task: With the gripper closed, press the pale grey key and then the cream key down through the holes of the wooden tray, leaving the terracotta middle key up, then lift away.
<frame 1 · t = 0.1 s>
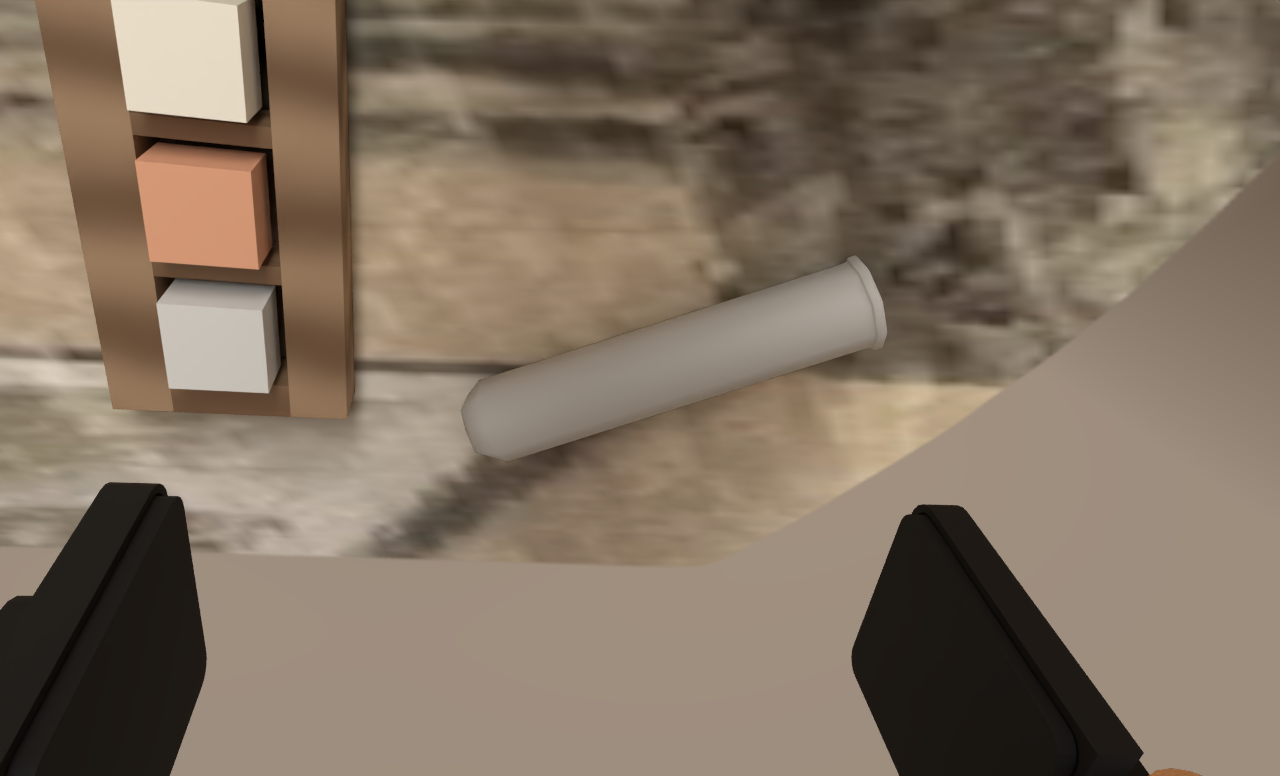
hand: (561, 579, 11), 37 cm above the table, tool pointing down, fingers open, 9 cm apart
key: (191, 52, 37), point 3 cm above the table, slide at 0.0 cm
key mid: (208, 206, 41), point 3 cm above the table, slide at 0.0 cm
tube: (659, 345, 53), on the table
wooden tray: (227, 184, 43), on the table
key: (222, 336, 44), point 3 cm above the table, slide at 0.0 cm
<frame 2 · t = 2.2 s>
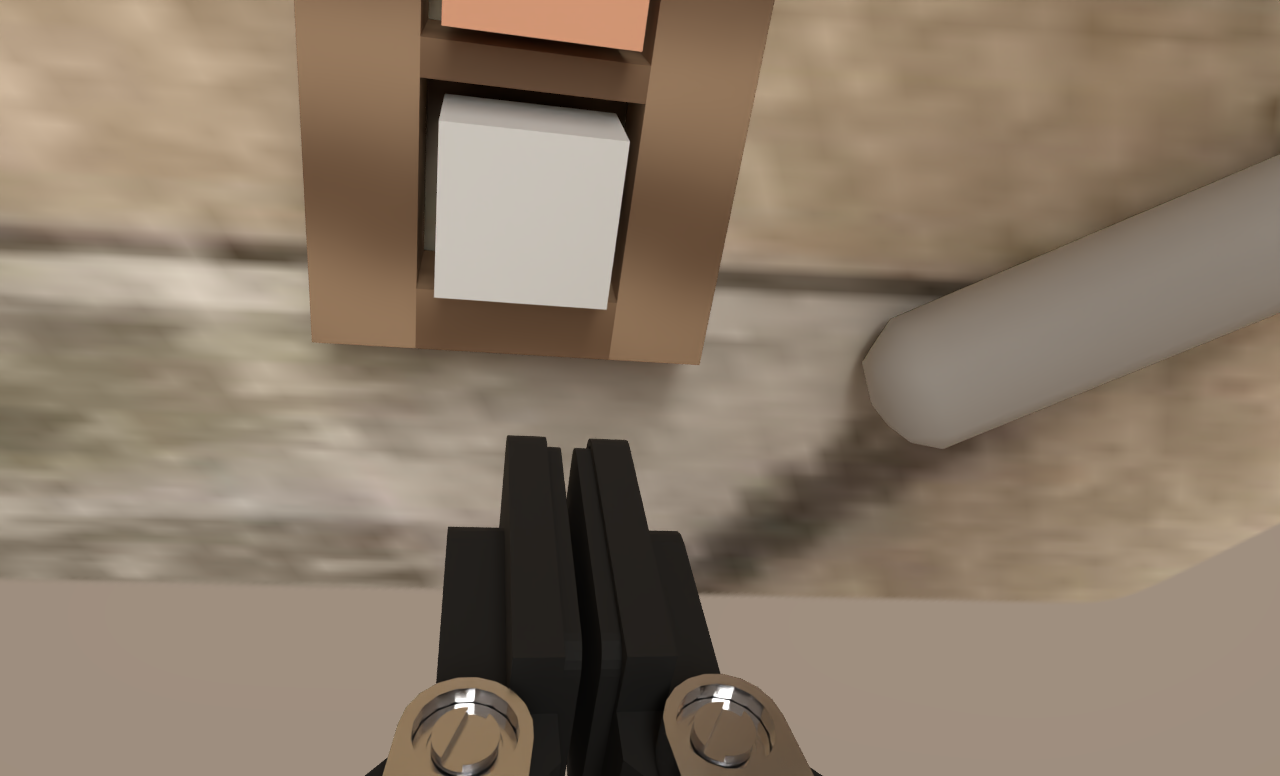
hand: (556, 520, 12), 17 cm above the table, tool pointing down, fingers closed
tube: (1159, 237, 32), on the table
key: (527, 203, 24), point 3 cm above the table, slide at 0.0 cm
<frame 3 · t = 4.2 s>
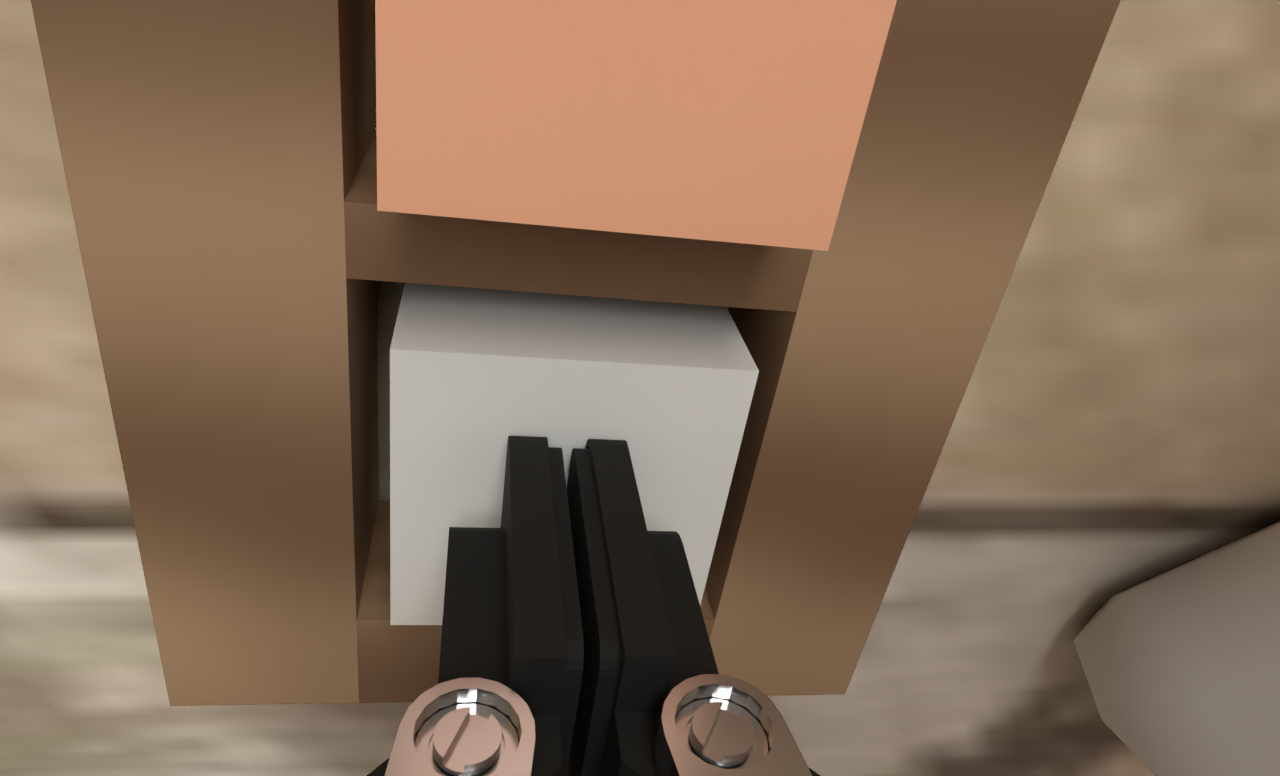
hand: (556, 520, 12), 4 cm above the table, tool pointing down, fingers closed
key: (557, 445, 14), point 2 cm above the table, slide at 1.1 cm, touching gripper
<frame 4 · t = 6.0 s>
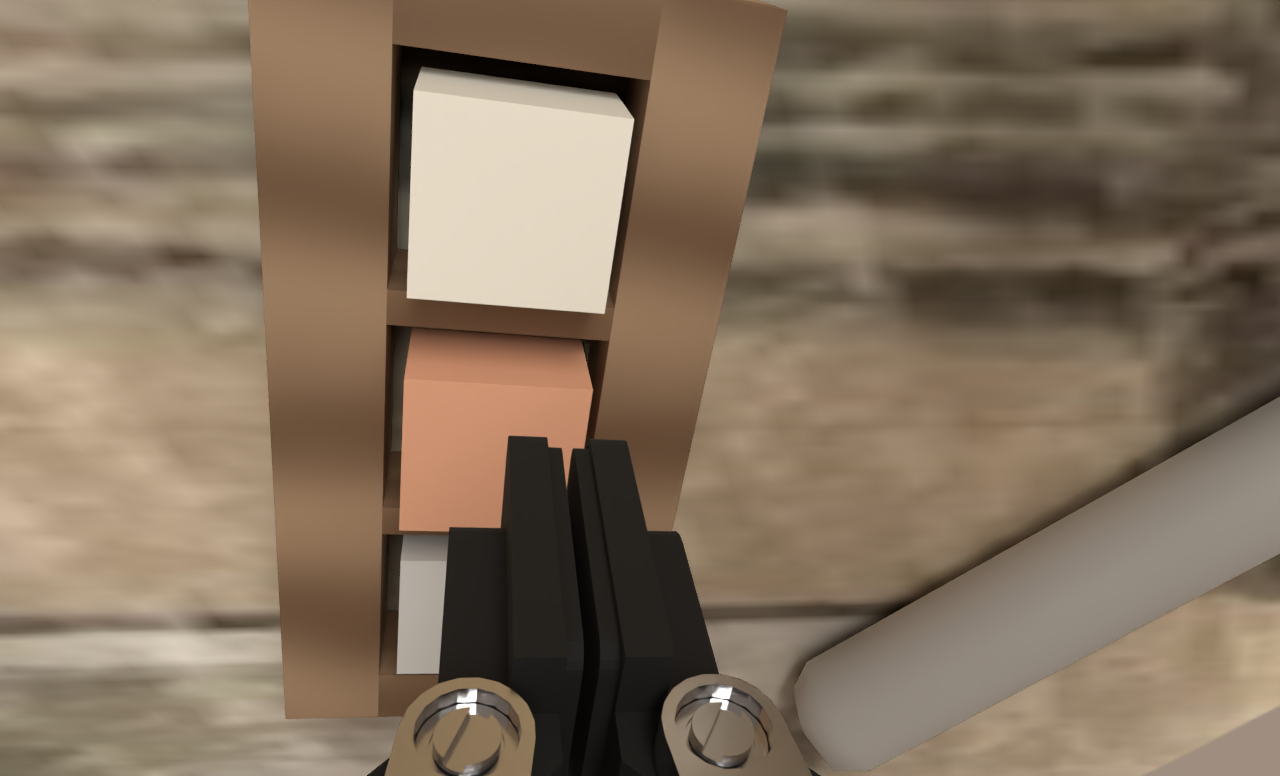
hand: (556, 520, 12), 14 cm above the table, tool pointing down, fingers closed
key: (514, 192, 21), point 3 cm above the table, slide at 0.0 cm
key mid: (492, 432, 24), point 3 cm above the table, slide at 0.0 cm
tube: (1041, 540, 36), on the table
wooden tray: (491, 376, 27), on the table
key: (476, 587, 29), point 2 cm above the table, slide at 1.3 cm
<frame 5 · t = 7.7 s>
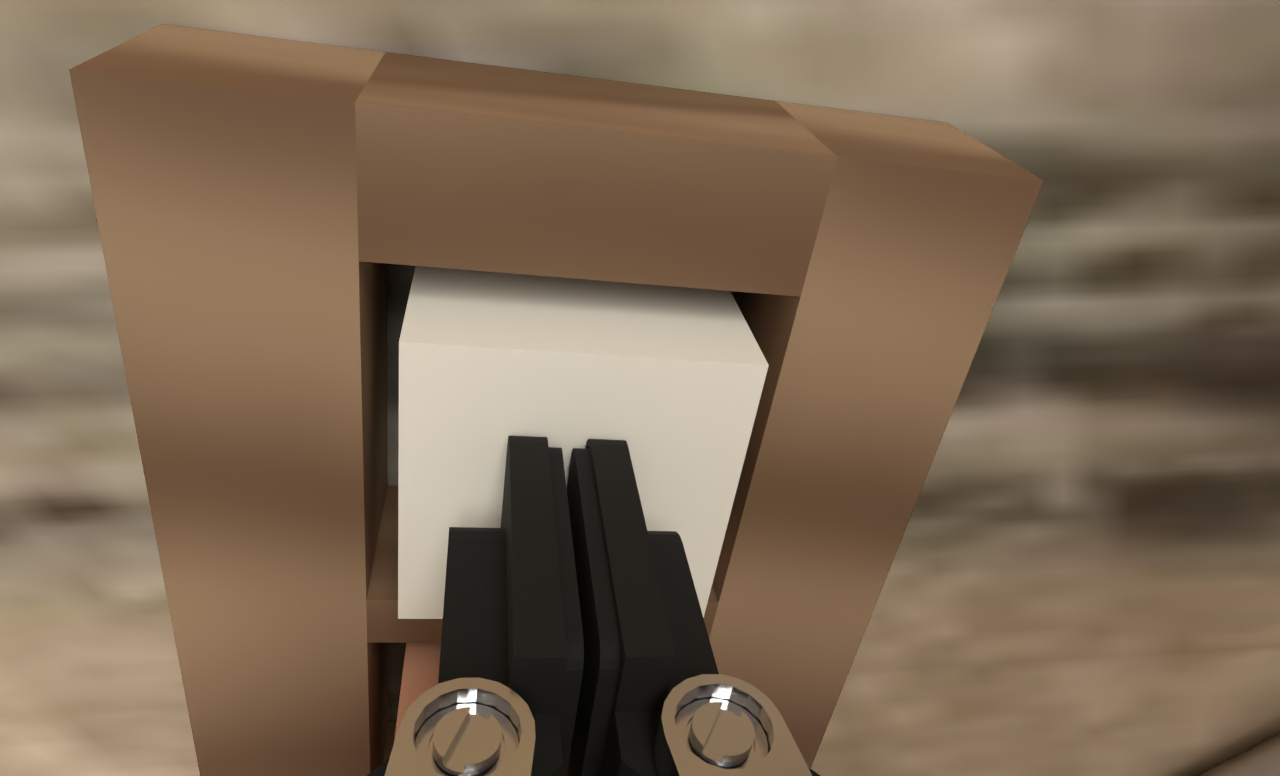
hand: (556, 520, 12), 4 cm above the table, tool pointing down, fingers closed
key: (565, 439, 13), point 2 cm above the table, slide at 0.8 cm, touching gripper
key mid: (530, 763, 16), point 3 cm above the table, slide at 0.0 cm
tube: (1240, 753, 27), on the table
wooden tray: (526, 631, 19), on the table
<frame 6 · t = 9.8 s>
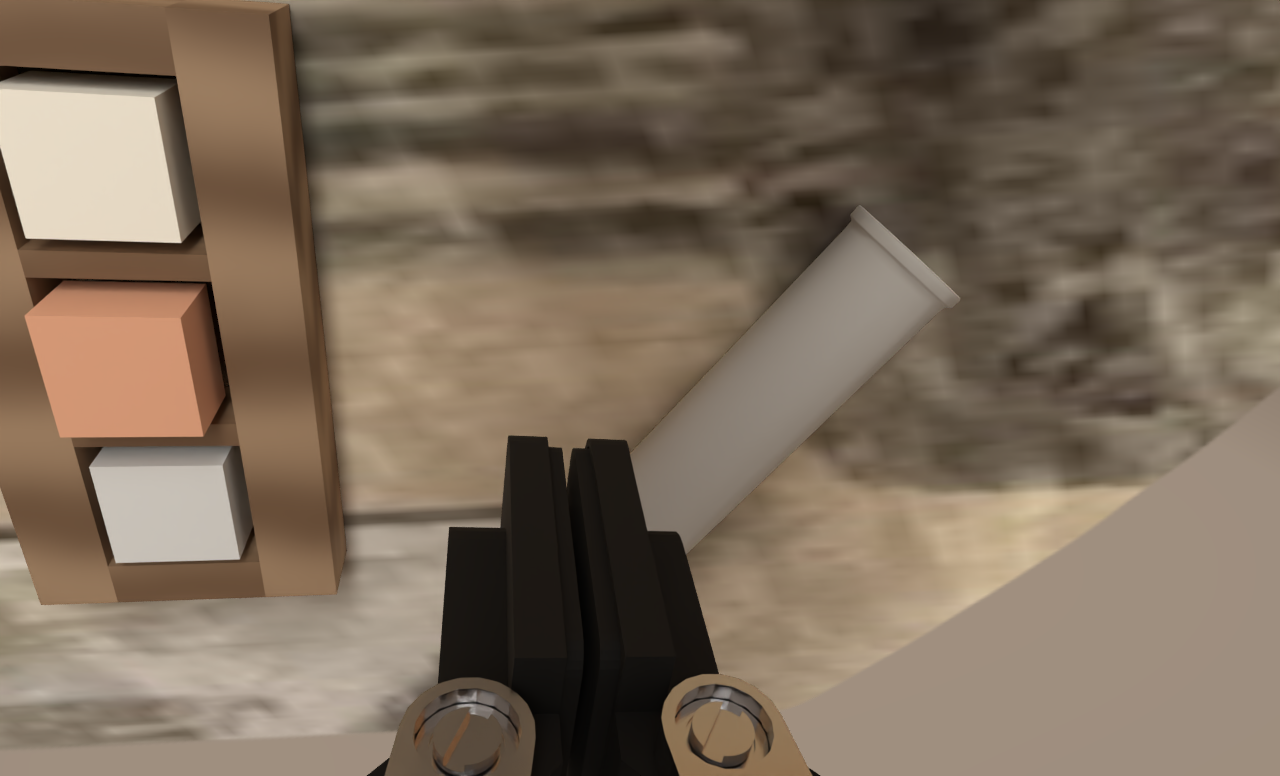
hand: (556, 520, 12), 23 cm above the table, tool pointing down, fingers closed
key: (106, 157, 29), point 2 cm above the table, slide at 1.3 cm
key mid: (134, 359, 31), point 3 cm above the table, slide at 0.0 cm
tube: (693, 427, 41), on the table
wooden tray: (164, 320, 34), on the table
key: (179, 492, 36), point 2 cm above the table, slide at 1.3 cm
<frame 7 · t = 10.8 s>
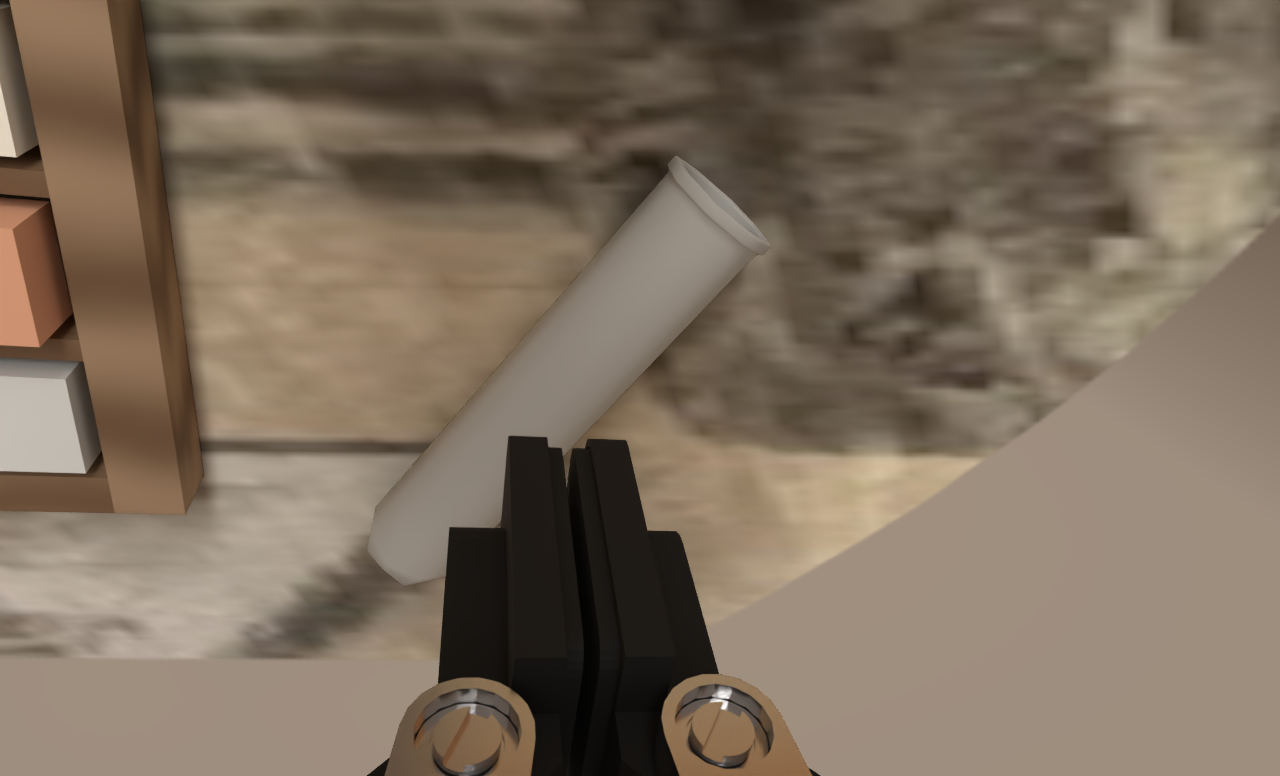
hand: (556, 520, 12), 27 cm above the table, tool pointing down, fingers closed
tube: (540, 372, 43), on the table
wooden tray: (15, 237, 35), on the table
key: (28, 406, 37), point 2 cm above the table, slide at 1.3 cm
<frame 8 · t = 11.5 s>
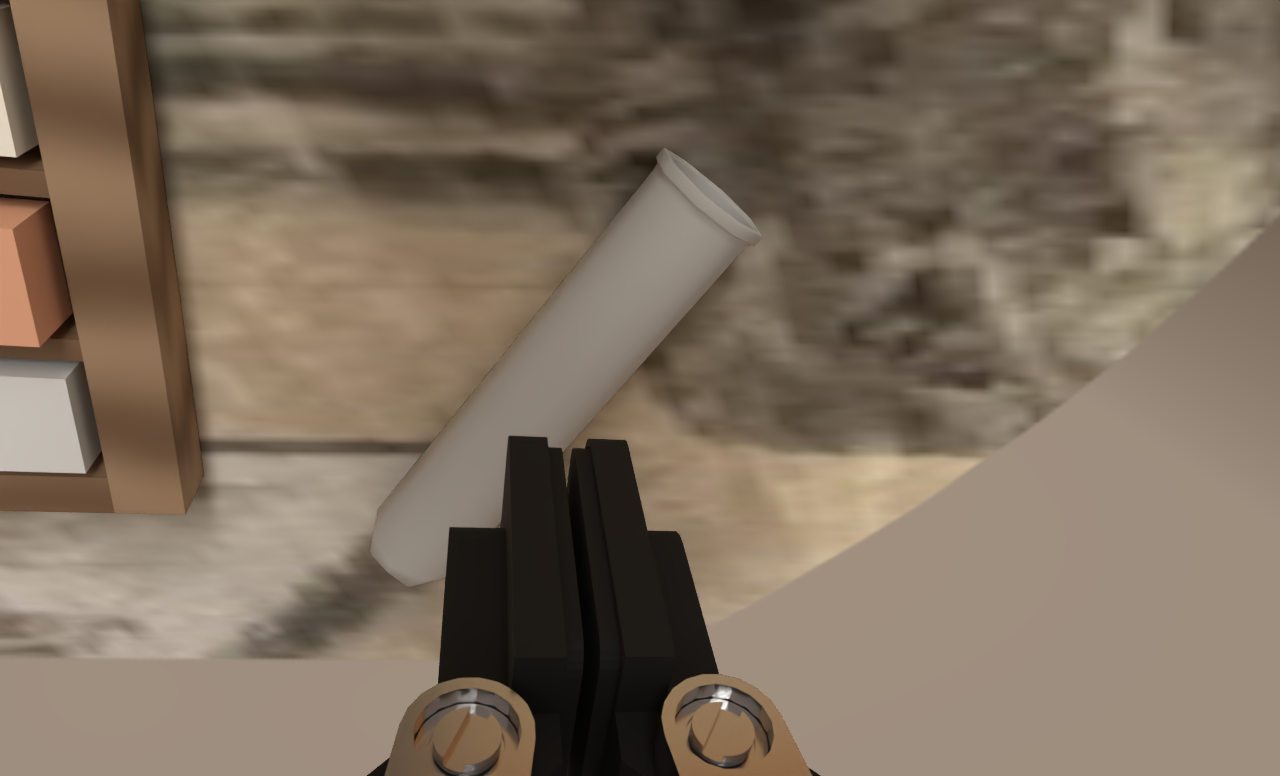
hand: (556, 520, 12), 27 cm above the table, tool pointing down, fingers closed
tube: (537, 369, 43), on the table
wooden tray: (15, 237, 35), on the table
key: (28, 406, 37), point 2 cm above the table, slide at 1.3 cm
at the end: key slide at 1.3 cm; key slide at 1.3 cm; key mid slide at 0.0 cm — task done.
